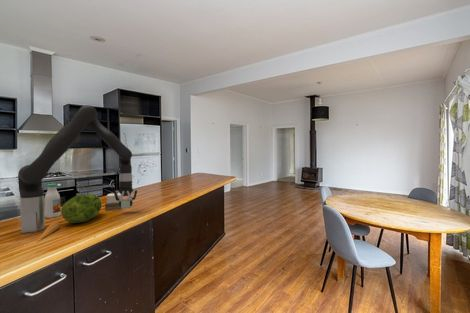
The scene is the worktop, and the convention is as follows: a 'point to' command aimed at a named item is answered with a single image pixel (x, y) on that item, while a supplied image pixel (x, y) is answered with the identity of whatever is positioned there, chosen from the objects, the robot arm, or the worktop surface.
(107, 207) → the base block
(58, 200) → the milk bottle
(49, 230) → the carrot
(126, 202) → the cube
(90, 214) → the lettuce
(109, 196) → the top block
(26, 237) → the worktop surface
